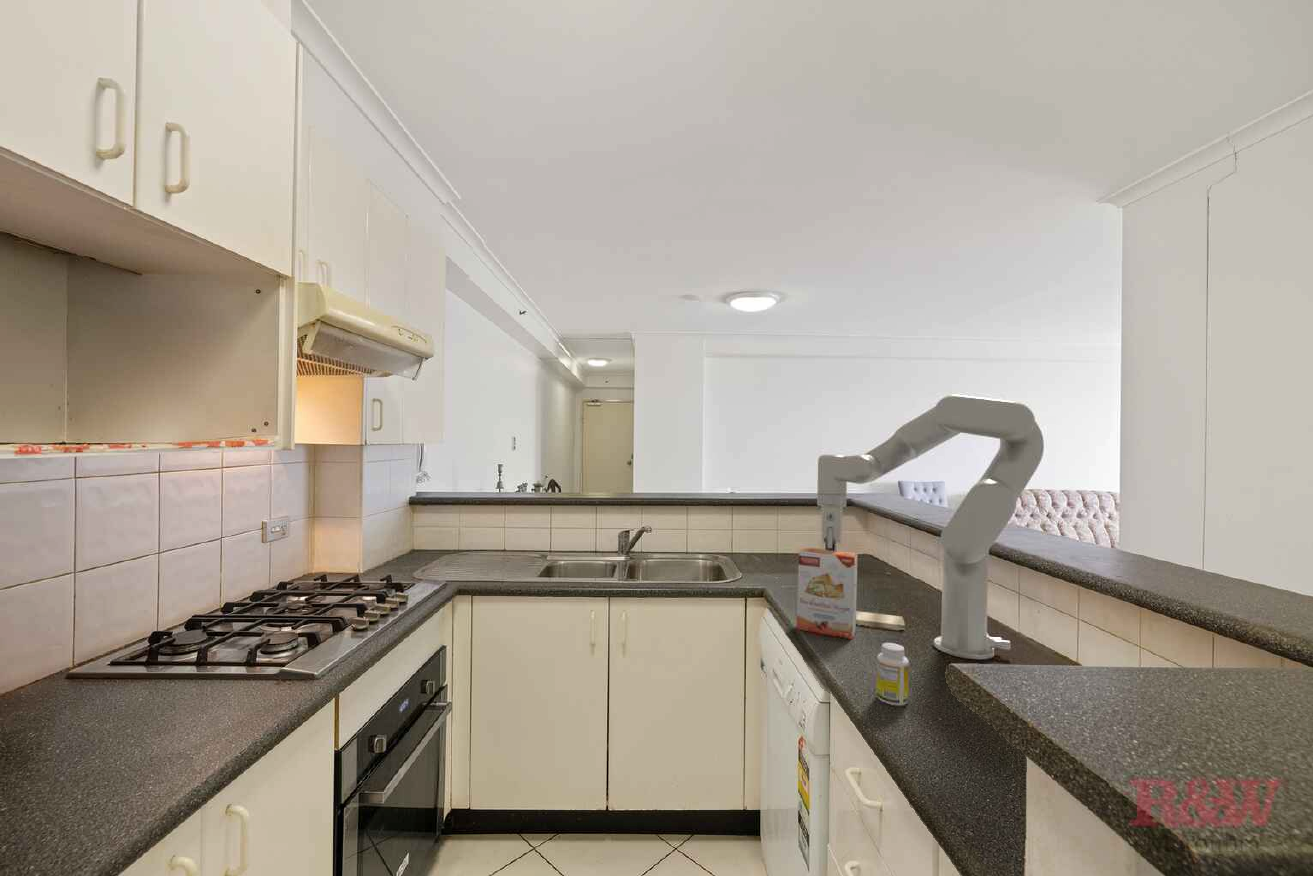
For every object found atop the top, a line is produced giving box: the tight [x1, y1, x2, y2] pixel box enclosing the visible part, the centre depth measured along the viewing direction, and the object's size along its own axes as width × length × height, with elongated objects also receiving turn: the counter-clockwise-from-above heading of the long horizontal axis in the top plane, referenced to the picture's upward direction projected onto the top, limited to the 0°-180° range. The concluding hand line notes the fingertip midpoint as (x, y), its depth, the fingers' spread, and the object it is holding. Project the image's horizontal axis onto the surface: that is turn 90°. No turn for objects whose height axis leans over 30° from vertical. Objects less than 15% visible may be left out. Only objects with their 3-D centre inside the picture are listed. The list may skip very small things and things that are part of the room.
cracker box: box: [796, 546, 859, 640], centre depth 142 cm, size 14×6×21 cm, turn 62°
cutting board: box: [856, 610, 906, 632], centre depth 150 cm, size 12×8×2 cm, turn 71°
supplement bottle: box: [876, 642, 910, 707], centre depth 105 cm, size 6×6×10 cm
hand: (830, 568), depth 149 cm, fingers closed
